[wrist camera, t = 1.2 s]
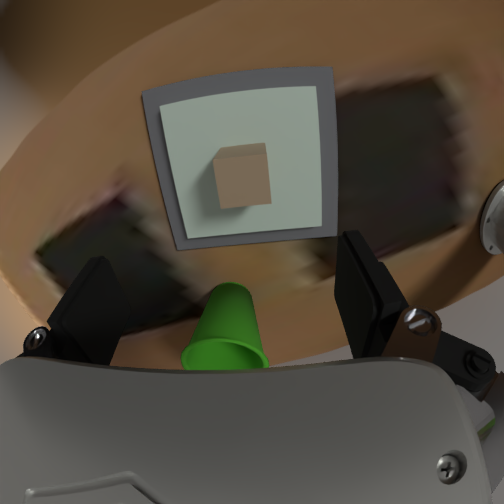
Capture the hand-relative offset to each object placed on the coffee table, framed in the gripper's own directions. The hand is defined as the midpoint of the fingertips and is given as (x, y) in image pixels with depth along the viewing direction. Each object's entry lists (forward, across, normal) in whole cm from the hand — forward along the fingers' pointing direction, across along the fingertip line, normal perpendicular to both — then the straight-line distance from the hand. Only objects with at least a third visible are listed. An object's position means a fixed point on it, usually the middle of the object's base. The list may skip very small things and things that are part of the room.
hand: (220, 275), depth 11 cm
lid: (+18, -1, 0) cm, 18 cm away
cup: (+19, +3, +17) cm, 25 cm away
